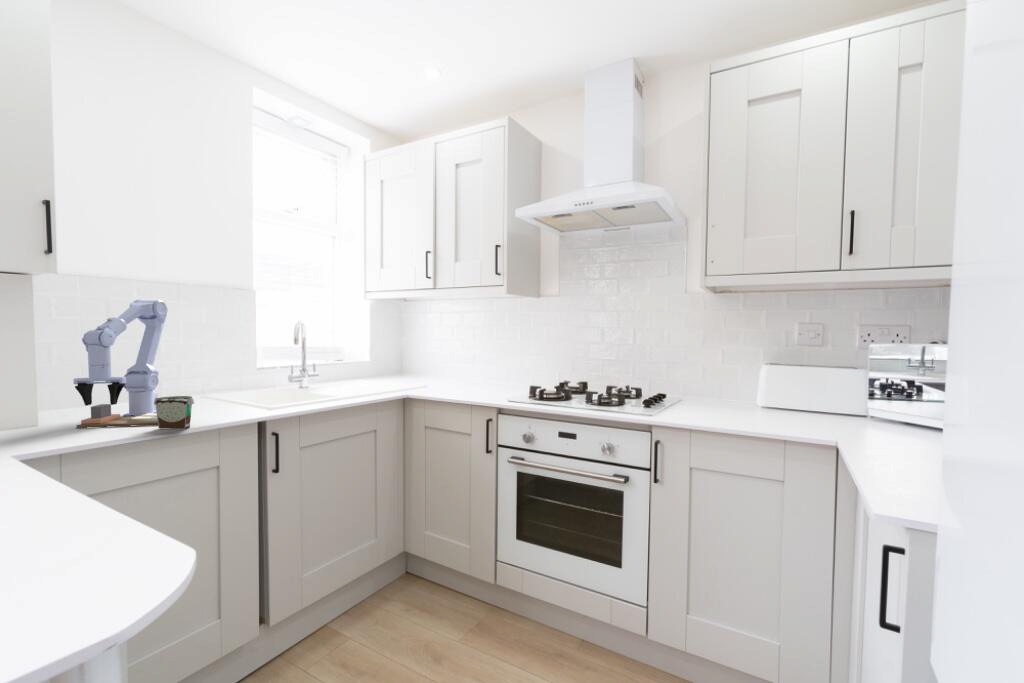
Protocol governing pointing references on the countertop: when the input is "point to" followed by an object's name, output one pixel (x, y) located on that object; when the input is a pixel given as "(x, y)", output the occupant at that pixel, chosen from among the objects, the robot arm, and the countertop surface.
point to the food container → (174, 411)
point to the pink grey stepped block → (100, 414)
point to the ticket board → (126, 421)
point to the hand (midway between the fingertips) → (101, 404)
